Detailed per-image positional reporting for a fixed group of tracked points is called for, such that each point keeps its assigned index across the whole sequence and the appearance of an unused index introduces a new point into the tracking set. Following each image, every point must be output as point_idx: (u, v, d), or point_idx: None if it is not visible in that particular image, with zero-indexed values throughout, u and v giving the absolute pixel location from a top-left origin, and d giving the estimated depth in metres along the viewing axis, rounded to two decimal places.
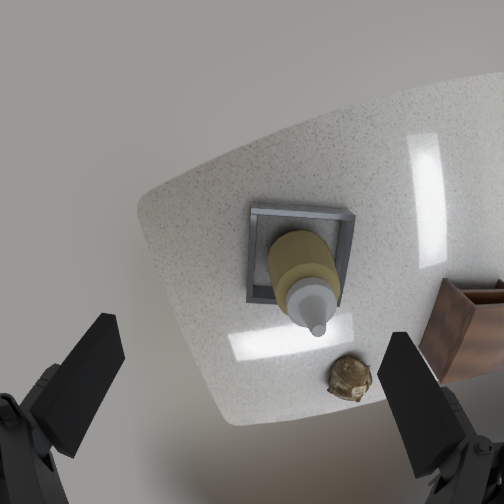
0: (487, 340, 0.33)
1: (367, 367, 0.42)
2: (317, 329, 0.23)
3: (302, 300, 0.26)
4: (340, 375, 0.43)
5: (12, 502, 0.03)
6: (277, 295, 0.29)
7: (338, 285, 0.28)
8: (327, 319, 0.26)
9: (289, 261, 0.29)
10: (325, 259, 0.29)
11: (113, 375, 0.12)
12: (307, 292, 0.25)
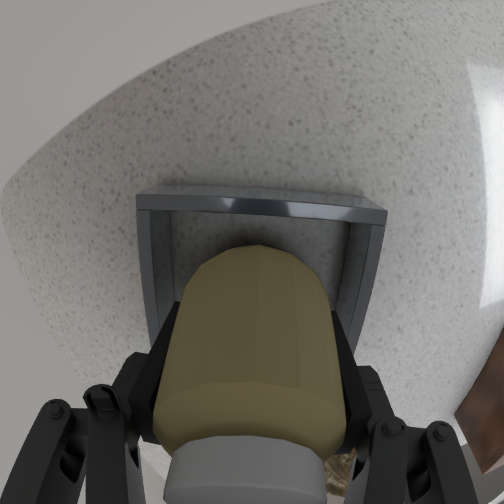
0: None
1: None
2: None
3: None
4: (335, 469, 0.23)
5: (87, 497, 0.04)
6: (159, 440, 0.08)
7: (341, 430, 0.08)
8: None
9: (188, 354, 0.09)
10: (306, 349, 0.09)
11: None
12: (217, 496, 0.05)
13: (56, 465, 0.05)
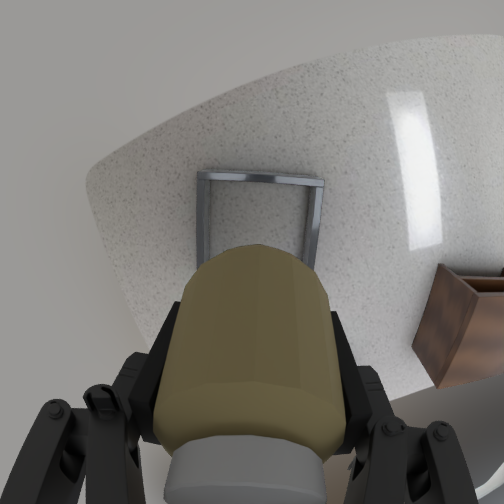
0: (492, 337, 0.27)
1: None
2: None
3: None
4: None
5: (87, 497, 0.04)
6: (159, 440, 0.08)
7: (340, 430, 0.08)
8: None
9: (188, 354, 0.09)
10: (306, 349, 0.09)
11: None
12: (217, 496, 0.05)
13: (56, 465, 0.05)
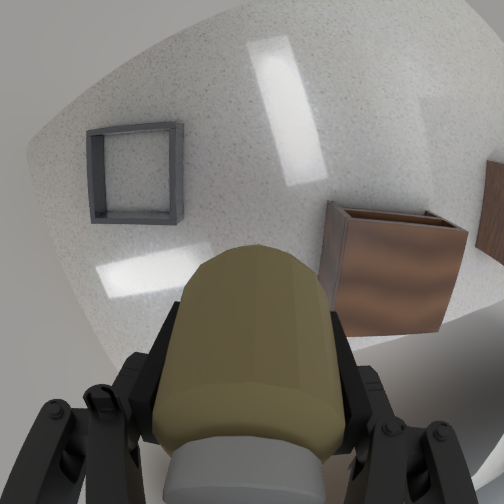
0: (393, 277, 0.30)
1: None
2: None
3: None
4: None
5: (87, 497, 0.04)
6: (158, 440, 0.08)
7: (339, 431, 0.08)
8: None
9: (187, 355, 0.09)
10: (305, 350, 0.09)
11: None
12: (216, 497, 0.05)
13: (56, 465, 0.05)
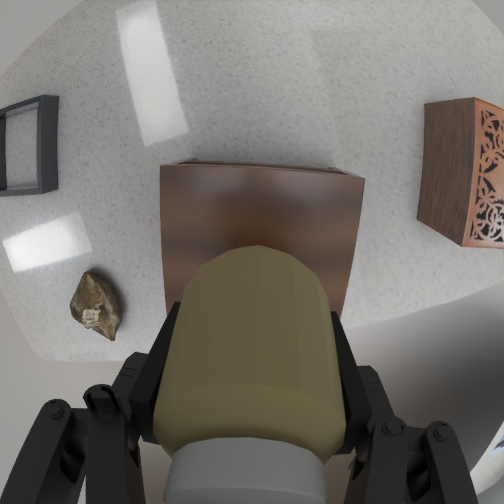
0: (237, 243, 0.24)
1: (95, 283, 0.33)
2: None
3: None
4: (77, 293, 0.34)
5: (87, 497, 0.04)
6: (159, 441, 0.08)
7: (340, 432, 0.08)
8: None
9: (188, 356, 0.09)
10: (306, 351, 0.09)
11: None
12: (217, 498, 0.05)
13: (56, 465, 0.05)
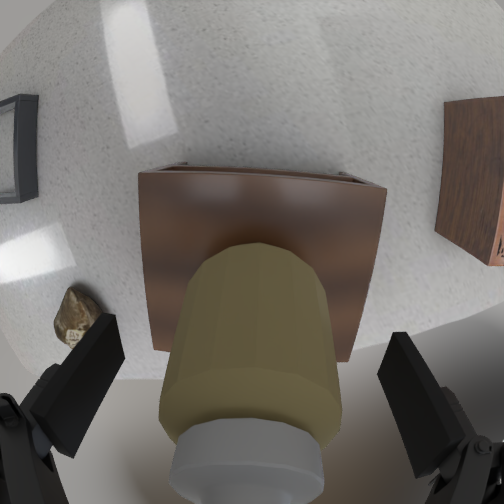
0: None
1: (78, 302, 0.29)
2: None
3: (207, 488, 0.06)
4: (60, 311, 0.30)
5: (12, 502, 0.03)
6: (164, 427, 0.09)
7: (337, 416, 0.08)
8: None
9: (193, 344, 0.09)
10: (304, 339, 0.09)
11: (113, 375, 0.12)
12: (221, 476, 0.06)
13: None
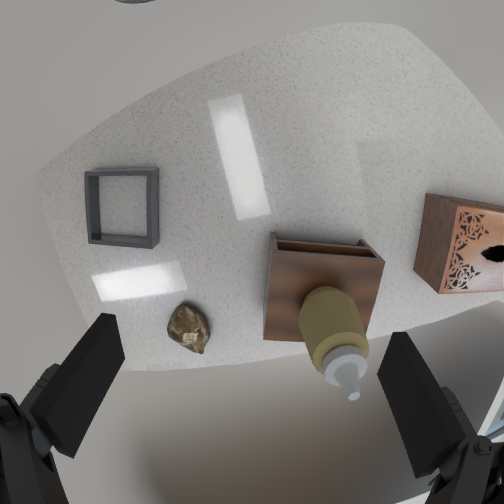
0: None
1: (195, 314, 0.49)
2: (353, 395, 0.24)
3: (339, 367, 0.27)
4: (175, 321, 0.51)
5: (12, 502, 0.03)
6: (314, 358, 0.30)
7: (367, 348, 0.29)
8: None
9: (325, 328, 0.30)
10: (357, 324, 0.30)
11: (113, 375, 0.12)
12: (344, 360, 0.27)
13: None
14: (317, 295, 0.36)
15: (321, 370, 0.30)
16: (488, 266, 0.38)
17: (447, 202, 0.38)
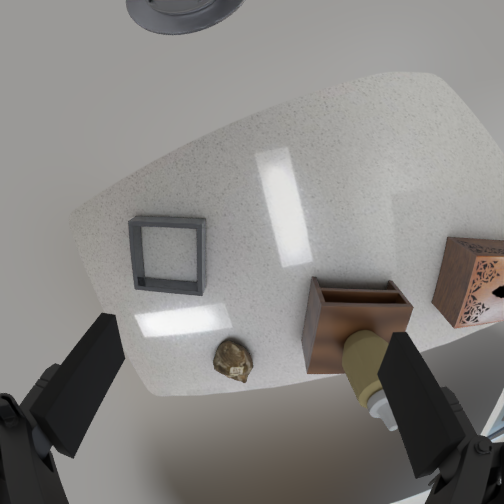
0: None
1: (241, 351, 0.54)
2: (393, 427, 0.28)
3: (381, 405, 0.31)
4: (221, 356, 0.55)
5: (12, 502, 0.03)
6: (360, 397, 0.34)
7: None
8: None
9: (370, 373, 0.34)
10: None
11: (113, 375, 0.12)
12: (385, 400, 0.31)
13: None
14: (359, 342, 0.40)
15: (365, 405, 0.34)
16: (497, 302, 0.42)
17: (467, 251, 0.41)
